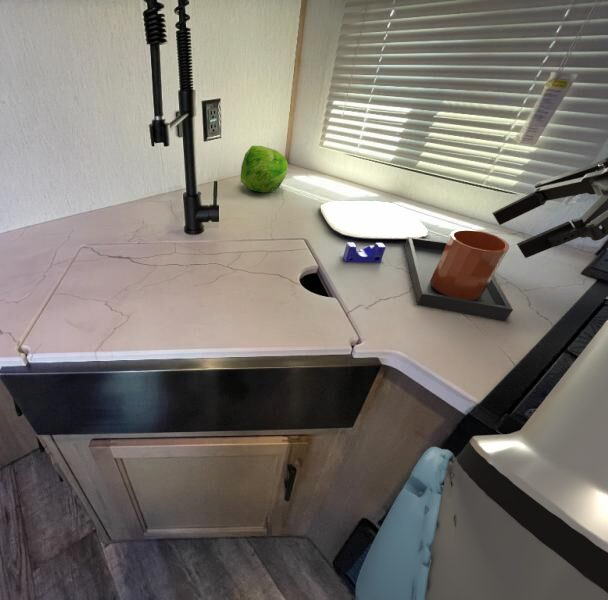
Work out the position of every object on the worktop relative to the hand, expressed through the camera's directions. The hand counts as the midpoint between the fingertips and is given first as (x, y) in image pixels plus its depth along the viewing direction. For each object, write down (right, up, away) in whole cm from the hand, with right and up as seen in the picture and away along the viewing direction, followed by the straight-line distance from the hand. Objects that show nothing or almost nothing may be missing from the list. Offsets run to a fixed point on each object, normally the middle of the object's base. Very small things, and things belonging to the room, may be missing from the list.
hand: (507, 233), depth 62 cm
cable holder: (-17, -2, +20) cm, 27 cm away
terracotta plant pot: (-3, -10, +9) cm, 13 cm away
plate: (-8, +10, +36) cm, 38 cm away
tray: (-2, -7, +13) cm, 15 cm away
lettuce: (-34, +26, +58) cm, 73 cm away
